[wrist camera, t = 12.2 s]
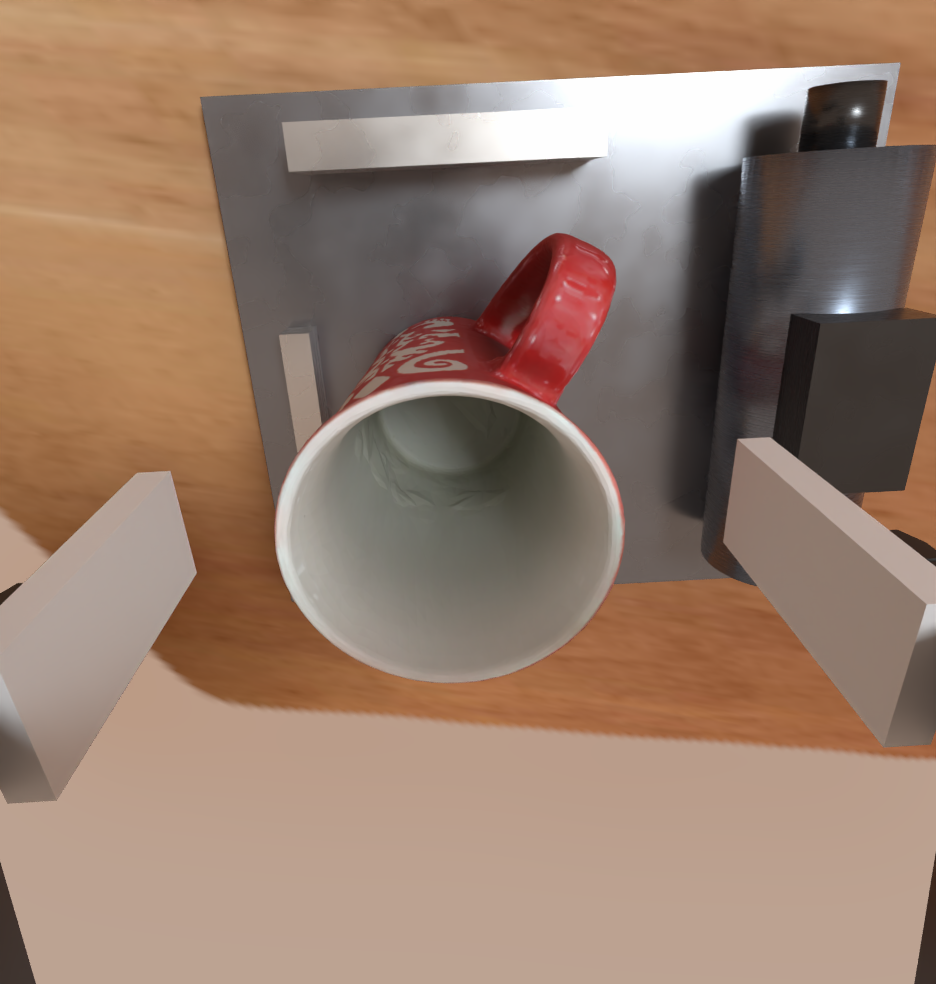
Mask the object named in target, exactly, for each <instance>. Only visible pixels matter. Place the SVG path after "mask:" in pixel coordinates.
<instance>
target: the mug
mask: <svg viewBox="0 0 936 984" xmlns="http://www.w3.org/2000/svg"><path fill="white" fill-rule="evenodd" d="M615 288H616V269H615V266H614V264H613V262H612V260H611V259H610V258H609V256H608V255H606V254H605V253H604V252H603V251H601V250H600V249H598V248H596V247H595V246H593V245H591V244H589V243H587V242H585V241H582V240H580V239H578V238H576V237H574V236H571V235H568V234H565V233H554V234H552V235H550V236H548V237H546V238H544V239H543V240H542V241H541V242H539V243H538V244H537V245H536V246H535V247H534V248H533V249H532V250H531V251H530V252H529V253H528V254H527V255H526V256H525V257H524V259H523V260H522V261H521V262H520V263H519V264H518V266H517V267H516V268H515V269H514V271H513V272H512V273H511V274H510V276H509V277H508V278H507V280H506V281H505V282H504V283H503V284H502V286H501V287H500V289H499V290H498V292H497V293H496V294H495V295H494V297H493V298H492V300H491V301H490V303H489V304H488V306H487V307H486V309H485V310H484V311H483V313H482V314H481V316H480V317H479V318H478V319H477V320H476V321H475V320H472V319H467V318H461V317H449V316H448V317H437V318H431V319H427V320H424V321H421V322H419V323H416V324H414V325H412V326H410V327H408V328H407V329H405V330H404V331H402V332H401V333H399V334H398V335H397V336H396V337H395V338H393V339H392V340H391V341H390V342H389V343H388V344H387V345H386V346H385V347H384V349H383V350H382V351H381V352H380V353H379V354H378V356H377V357H376V359H375V361H374V362H373V364H372V365H371V367H370V368H369V369H368V371H367V372H366V374H365V375H364V376H363V378H362V379H361V380H360V381H359V383H358V384H357V386H356V387H355V388H354V390H353V391H352V393H351V394H350V395H349V396H348V398H347V399H346V401H345V402H344V404H343V405H342V406H341V408H340V409H339V410H338V412H337V413H336V414H335V415H333V416H332V417H331V418H329V419H328V420H327V421H326V422H324V423H323V424H322V425H321V426H320V427H319V428H318V429H317V430H316V431H315V432H314V433H313V435H312V436H311V437H310V438H309V439H308V440H307V441H306V442H305V444H304V445H303V447H302V448H301V450H300V451H299V452H298V454H297V455H296V457H295V458H294V460H293V462H292V463H291V465H290V467H289V469H288V471H287V474H286V476H285V478H284V481H283V483H282V486H281V489H280V493H279V496H278V501H277V505H276V512H275V524H274V529H275V550H276V555H277V560H278V563H279V566H280V571H281V575H282V577H283V580H284V582H285V584H286V586H287V588H288V590H289V592H290V594H291V596H292V598H293V600H294V602H295V603H296V604H297V606H298V607H299V609H300V610H301V611H302V613H303V614H304V616H305V617H306V618H307V619H308V620H309V622H310V623H311V624H312V625H313V626H314V627H315V628H316V629H317V630H318V631H319V632H320V633H321V634H322V635H323V636H324V637H325V638H326V639H327V640H329V641H330V642H331V643H332V644H333V645H335V646H336V647H338V648H339V649H340V650H342V651H343V652H345V653H346V654H348V655H349V656H351V657H353V658H354V659H356V660H358V661H359V662H361V663H363V664H366V665H368V666H371V667H373V668H375V669H378V670H380V671H383V672H386V673H389V674H392V675H395V676H399V677H403V678H407V679H411V680H416V681H424V682H432V683H467V682H477V681H484V680H488V679H493V678H497V677H501V676H504V675H508V674H511V673H514V672H517V671H520V670H522V669H525V668H527V667H529V666H532V665H534V664H536V663H537V662H539V661H541V660H543V659H545V658H547V657H548V656H550V655H551V654H553V653H555V652H556V651H558V650H559V649H561V648H562V647H563V646H564V645H566V644H567V643H568V642H569V641H571V640H572V639H573V638H574V637H575V636H576V635H577V634H578V633H579V632H580V631H582V630H583V629H584V628H585V627H586V626H587V624H588V623H589V622H590V621H591V620H592V618H593V617H594V616H595V615H596V613H597V612H598V610H599V609H600V607H601V606H602V604H603V603H604V601H605V600H606V598H607V596H608V594H609V592H610V591H611V589H612V587H613V584H614V581H615V579H616V576H617V574H618V571H619V567H620V564H621V560H622V556H623V550H624V540H625V516H624V507H623V504H622V500H621V496H620V491H619V488H618V485H617V482H616V480H615V477H614V475H613V473H612V471H611V469H610V467H609V465H608V464H607V462H606V460H605V458H604V457H603V455H602V454H601V452H600V451H599V449H598V448H597V447H596V445H595V444H594V443H593V442H592V441H591V439H590V438H589V437H588V436H587V435H586V434H585V433H584V432H583V431H582V430H581V429H580V428H579V427H578V426H577V425H576V424H575V423H573V422H572V421H571V420H570V419H569V418H567V417H566V416H565V415H564V414H563V413H562V412H561V410H560V409H559V408H558V407H557V405H556V404H557V402H558V400H559V398H560V396H561V394H562V393H563V391H564V388H565V386H566V385H567V384H568V383H569V382H570V381H571V379H572V378H573V376H574V375H575V373H576V372H578V370H579V368H580V366H581V364H582V363H583V361H584V359H585V358H586V356H587V355H588V353H589V351H590V349H591V347H592V346H593V344H594V342H595V340H596V338H597V336H598V334H599V332H600V330H601V328H602V326H603V324H604V322H605V319H606V316H607V314H608V311H609V308H610V304H611V301H612V299H613V295H614V292H615Z"/></svg>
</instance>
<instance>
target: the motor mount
mask: <svg viewBox="0 0 936 984" xmlns="http://www.w3.org/2000/svg"><path fill="white" fill-rule="evenodd" d="M900 64H901V63H885V64H864V65H844V66H823V67H803V68H783V69H762V70H742V71H721V72H701V73H681V74H660V75H640V76H619V77H599V78H578V79H558V80H538V81H517V82H497V83H476V84H456V85H436V86H415V87H395V88H374V89H354V90H333V91H313V92H293V93H272V94H252V95H231V96H211V97H200V99H201V104H202V110H203V115H204V121H205V126H206V132H207V137H208V143H209V148H210V154H211V159H212V165H213V171H214V176H215V182H216V187H217V193H218V198H219V204H220V209H221V215H222V220H223V226H224V231H225V237H226V242H227V248H228V253H229V259H230V264H231V270H232V275H233V281H234V286H235V292H236V297H237V303H238V308H239V314H240V319H241V325H242V330H243V336H244V341H245V347H246V352H247V358H248V363H249V369H250V374H251V380H252V385H253V391H254V396H255V402H256V407H257V413H258V419H259V424H260V430H261V435H262V441H263V446H264V452H265V457H266V463H267V468H268V474H269V479H270V485H271V490H272V496H273V501H274V507H275V512H276V505H277V501H278V496H279V493H280V489H281V486H282V483H283V481H284V478H285V476H286V474H287V471H288V469H289V467H290V465H291V463H292V462H293V460H294V458H295V457H296V455H297V454H298V452H299V451H300V450H301V448H302V447H303V445H304V444H305V442H306V441H307V440H308V439H309V438H310V437H311V436H312V435H313V433H314V432H315V431H316V430H317V429H318V428H319V427H320V426H321V425H322V424H323V423H324V422H326V421H327V420H328V419H329V418H331V417H332V416H333V415H335V414H336V413H337V412H338V410H339V409H340V408H341V406H342V405H343V404H344V402H345V401H346V399H347V398H348V396H349V395H350V394H351V393H352V391H353V390H354V388H355V387H356V386H357V384H358V383H359V381H360V380H361V379H362V378H363V376H364V375H365V374H366V372H367V371H368V369H369V368H370V367H371V365H372V364H373V362H374V361H375V359H376V357H377V356H378V354H379V353H380V352H381V351H382V350H383V349H384V347H385V346H386V345H387V344H388V343H389V342H390V341H391V340H392V339H393V338H395V337H396V336H397V335H398V334H399V333H401V332H402V331H404V330H405V329H407V328H408V327H410V326H412V325H414V324H416V323H419V322H421V321H424V320H427V319H431V318H437V317H448V316H449V317H461V318H467V319H472V320H475V321H476V320H477V319H478V318H479V317H480V316H481V314H482V313H483V311H484V310H485V309H486V307H487V306H488V304H489V303H490V301H491V300H492V298H493V297H494V295H495V294H496V293H497V292H498V290H499V289H500V287H501V286H502V284H503V283H504V282H505V281H506V280H507V278H508V277H509V276H510V274H511V273H512V272H513V271H514V269H515V268H516V267H517V266H518V264H519V263H520V262H521V261H522V260H523V259H524V257H525V256H526V255H527V254H528V253H529V252H530V251H531V250H532V249H533V248H534V247H535V246H536V245H537V244H538V243H539V242H541V241H542V240H543V239H544V238H546V237H548V236H550V235H552V234H554V233H565V234H568V235H571V236H574V237H576V238H578V239H580V240H582V241H585V242H587V243H589V244H591V245H593V246H595V247H596V248H598V249H600V250H601V251H603V252H604V253H605V254H606V255H608V256H609V258H610V259H611V260H612V262H613V264H614V266H615V269H616V288H615V292H614V295H613V299H612V301H611V304H610V308H609V311H608V314H607V316H606V319H605V322H604V324H603V326H602V328H601V330H600V332H599V334H598V336H597V338H596V340H595V342H594V344H593V346H592V347H591V349H590V351H589V353H588V355H587V356H586V358H585V359H584V361H583V363H582V364H581V366H580V368H579V370H578V372H576V373H575V375H574V376H573V378H572V379H571V381H570V382H569V383H568V384H567V385H566V386H565V388H564V391H563V393H562V394H561V396H560V398H559V400H558V402H557V404H556V405H557V407H558V408H559V409H560V410H561V412H562V413H563V414H564V415H565V416H566V417H567V418H569V419H570V420H571V421H572V422H573V423H575V424H576V425H577V426H578V427H579V428H580V429H581V430H582V431H583V432H584V433H585V434H586V435H587V436H588V437H589V438H590V439H591V441H592V442H593V443H594V444H595V445H596V447H597V448H598V449H599V451H600V452H601V454H602V455H603V457H604V458H605V460H606V462H607V464H608V465H609V467H610V469H611V471H612V473H613V475H614V477H615V480H616V482H617V485H618V488H619V491H620V496H621V500H622V504H623V507H624V516H625V540H624V550H623V556H622V560H621V564H620V567H619V571H618V574H617V576H616V579H615V581H614V584H626V583H644V582H663V581H681V580H700V579H718V578H733V579H736V580H738V581H741V582H744V583H747V584H750V585H754V586H757V585H756V584H755V582H754V581H753V580H752V578H751V577H750V576H749V575H748V573H747V572H746V571H745V570H744V568H743V567H742V566H741V564H740V563H739V562H738V561H737V559H736V558H735V557H734V555H733V554H732V553H731V552H730V550H729V549H728V548H727V546H726V545H725V544H724V543H723V539H724V532H725V524H726V517H727V510H728V503H729V495H730V488H731V481H732V474H733V466H734V459H735V452H736V445H737V439H746V438H764V437H770V438H772V439H773V440H774V441H775V442H777V443H778V444H779V445H781V446H782V447H783V448H784V449H786V450H787V451H788V452H789V453H791V454H792V455H793V456H795V457H796V458H797V459H798V460H800V461H801V462H802V463H804V464H805V465H806V466H807V467H809V468H810V469H811V470H813V471H814V472H815V473H816V474H818V475H819V476H820V477H822V478H823V479H824V480H825V481H827V482H828V483H829V484H830V485H832V486H833V487H834V488H836V489H837V490H838V491H839V492H841V493H842V494H843V495H845V496H846V497H847V498H848V499H850V500H851V501H852V502H854V503H855V504H856V505H857V506H859V507H860V508H861V506H862V502H863V497H864V492H883V491H902V490H905V486H906V482H907V478H908V474H909V469H910V465H911V461H912V457H913V453H914V449H915V445H916V440H917V436H918V432H919V428H920V424H921V420H922V416H923V412H924V407H925V403H926V399H927V395H928V391H929V387H930V383H931V378H932V374H933V370H934V366H935V362H936V315H935V314H931V313H926V312H922V311H918V310H914V309H909V308H904V307H905V302H906V297H907V293H908V288H909V283H910V279H911V274H912V270H913V265H914V260H915V256H916V251H917V246H918V242H919V237H920V232H921V228H922V223H923V218H924V214H925V209H926V205H927V200H928V195H929V191H930V186H931V181H932V177H933V172H934V167H935V163H936V145H907V146H885V144H886V139H887V134H888V128H889V123H890V118H891V112H892V107H893V101H894V96H895V91H896V85H897V80H898V75H899V69H900ZM290 595H291V594H290ZM291 600H292V601H294V600H293V598H292V596H291Z"/></svg>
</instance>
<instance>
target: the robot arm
mask: <svg viewBox="0 0 936 984" xmlns="http://www.w3.org/2000/svg"><path fill="white" fill-rule="evenodd" d="M723 543H724V544H725V545H726V546H727V548H728V549H729V550H730V552H731V553H732V554H733V555H734V557H735V558H736V559H737V561H738V562H739V563H740V564H741V566H742V567H743V568H744V570H745V571H746V572H747V573H748V575H749V576H750V577H751V578H752V580H753V581H754V582H755V584H756V585H757V586H758V587H759V589H760V590H761V591H762V593H763V594H764V595H765V596H766V598H767V599H768V600H769V602H770V603H771V604H772V605H773V607H774V608H775V609H776V610H777V612H778V613H779V614H780V616H781V617H782V618H783V619H784V621H785V622H786V623H787V625H788V626H789V627H790V628H791V630H792V631H793V632H794V634H795V635H796V636H797V637H798V639H799V640H800V641H801V642H802V644H803V645H804V646H805V648H806V649H807V650H808V651H809V653H810V654H811V655H812V657H813V658H814V659H815V660H816V662H817V663H818V664H819V666H820V667H821V668H822V669H823V671H824V672H825V673H826V674H827V676H828V677H829V678H830V680H831V681H832V682H833V683H834V685H835V686H836V687H837V689H838V690H839V691H840V692H841V694H842V695H843V696H844V697H845V699H846V700H847V701H848V703H849V704H850V705H851V706H852V708H853V709H854V710H855V712H856V713H857V714H858V715H859V717H860V718H861V719H862V721H863V722H864V723H865V724H866V726H867V727H868V728H869V729H870V731H871V732H872V733H873V735H874V736H875V737H876V738H877V740H878V741H879V742H880V744H881V745H882V746H883V747H898V746H913V745H929V744H931V742H932V739H933V736H934V733H935V731H936V550H935V549H934V548H932V547H931V546H930V545H928V544H927V543H926V542H924V541H921V540H919V539H917V538H915V537H912V536H910V535H908V534H906V533H903V532H901V531H899V530H888V529H887V528H886V527H884V526H883V525H882V524H880V523H879V522H878V521H877V520H875V519H874V518H873V517H871V516H870V515H869V514H868V513H866V512H865V511H864V510H862V509H861V508H860V507H859V506H857V505H856V504H855V503H854V502H852V501H851V500H850V499H848V498H847V497H846V496H845V495H843V494H842V493H841V492H839V491H838V490H837V489H836V488H834V487H833V486H832V485H830V484H829V483H828V482H827V481H825V480H824V479H823V478H822V477H820V476H819V475H818V474H816V473H815V472H814V471H813V470H811V469H810V468H809V467H807V466H806V465H805V464H804V463H802V462H801V461H800V460H798V459H797V458H796V457H795V456H793V455H792V454H791V453H789V452H788V451H787V450H786V449H784V448H783V447H782V446H781V445H779V444H778V443H777V442H775V441H774V440H773V439H772V438H770V437H764V438H746V439H737V445H736V452H735V459H734V466H733V474H732V481H731V488H730V495H729V503H728V510H727V517H726V524H725V532H724V539H723ZM196 574H197V572H196V568H195V564H194V560H193V556H192V552H191V549H190V545H189V541H188V537H187V533H186V529H185V525H184V522H183V518H182V514H181V510H180V506H179V502H178V498H177V495H176V491H175V487H174V483H173V479H172V475H171V471H162V472H144V473H136V474H135V475H134V476H133V477H132V478H131V479H130V480H129V481H128V482H127V483H126V484H125V485H124V486H123V487H122V488H121V489H120V490H119V491H118V492H117V493H116V494H115V495H114V496H113V497H111V498H110V499H109V500H108V501H107V502H106V503H105V504H104V505H103V506H102V507H101V508H100V509H99V510H98V511H97V512H96V513H95V514H94V515H93V516H92V517H91V518H90V519H89V520H88V521H87V522H86V523H85V524H84V525H83V526H82V527H81V528H80V529H79V530H77V531H76V532H75V533H74V534H73V535H72V536H71V537H70V538H69V539H68V540H67V541H66V542H65V543H64V544H63V545H62V546H61V547H60V548H59V549H58V550H57V551H56V552H55V553H54V554H53V555H52V556H51V557H50V558H49V559H48V560H47V561H46V562H44V563H43V564H42V565H41V566H40V567H39V568H38V569H37V570H36V571H35V572H34V573H33V574H32V575H31V576H30V577H29V578H28V579H27V580H26V581H25V582H24V583H18V584H16V585H14V586H12V587H10V588H9V589H7V590H5V591H4V592H2V593H0V789H1V791H2V793H3V795H4V797H5V799H6V801H7V803H8V804H9V803H24V802H39V801H56V800H57V799H58V797H59V796H60V794H61V793H62V791H63V789H64V788H65V786H66V785H67V783H68V781H69V780H70V778H71V776H72V775H73V773H74V771H75V770H76V768H77V767H78V765H79V763H80V762H81V760H82V759H83V757H84V755H85V754H86V752H87V751H88V749H89V747H90V746H91V744H92V742H93V741H94V739H95V737H96V736H97V734H98V733H99V731H100V729H101V728H102V726H103V724H104V723H105V721H106V720H107V718H108V716H109V715H110V713H111V712H112V710H113V708H114V707H115V705H116V703H117V702H118V700H119V699H120V697H121V695H122V694H123V692H124V690H125V689H126V687H127V686H128V684H129V682H130V680H131V679H132V677H133V676H134V674H135V672H136V671H137V669H138V668H139V666H140V665H141V663H142V661H143V659H144V658H145V656H146V655H147V653H148V652H149V650H150V648H151V647H152V645H153V643H154V642H155V640H156V639H157V637H158V635H159V634H160V632H161V630H162V629H163V627H164V626H165V624H166V622H167V621H168V619H169V617H170V616H171V614H172V613H173V611H174V609H175V608H176V606H177V604H178V603H179V601H180V600H181V598H182V596H183V595H184V593H185V591H186V590H187V588H188V587H189V585H190V583H191V582H192V580H193V579H194V577H195V575H196ZM0 984H36V983H35V979H34V976H33V973H32V969H31V966H30V962H29V959H28V955H27V952H26V949H25V945H24V942H23V939H22V935H21V932H20V928H19V925H18V921H17V918H16V915H15V911H14V908H13V904H12V901H11V897H10V894H9V891H8V887H7V884H6V880H5V877H4V873H3V870H2V867H1V863H0ZM914 984H936V854H935V861H934V867H933V873H932V879H931V885H930V891H929V897H928V904H927V910H926V916H925V922H924V928H923V934H922V941H921V947H920V953H919V959H918V965H917V971H916V977H915V983H914Z"/></svg>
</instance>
